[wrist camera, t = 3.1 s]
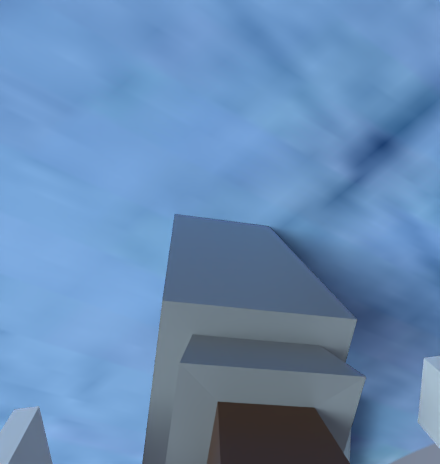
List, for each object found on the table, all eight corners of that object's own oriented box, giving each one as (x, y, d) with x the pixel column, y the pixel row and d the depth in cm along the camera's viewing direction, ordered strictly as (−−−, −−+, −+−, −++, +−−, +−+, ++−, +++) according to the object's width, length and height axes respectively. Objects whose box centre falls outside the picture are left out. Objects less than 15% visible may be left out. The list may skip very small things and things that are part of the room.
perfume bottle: (252, 311, 27) (373, 624, 10) (163, 302, 26) (120, 630, 9) (268, 226, 25) (450, 418, 8) (174, 214, 24) (148, 399, 7)
